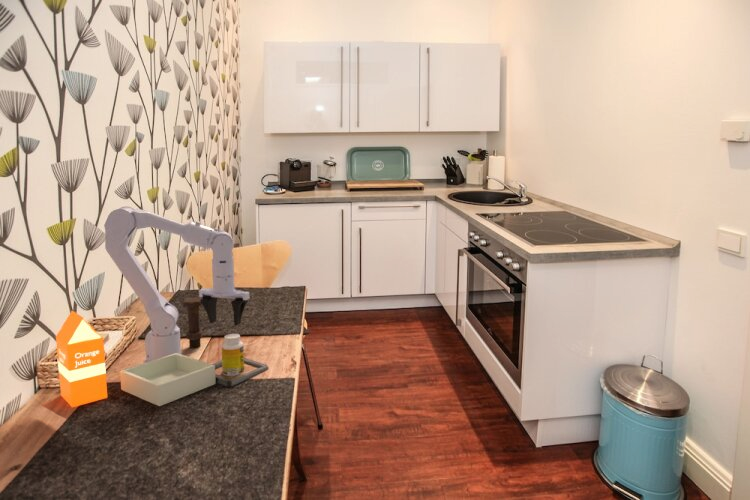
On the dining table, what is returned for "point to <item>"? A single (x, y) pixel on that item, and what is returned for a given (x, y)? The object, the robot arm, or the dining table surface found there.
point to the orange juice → (81, 362)
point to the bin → (167, 378)
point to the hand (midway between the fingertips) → (225, 323)
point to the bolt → (193, 322)
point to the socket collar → (240, 378)
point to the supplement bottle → (232, 355)
